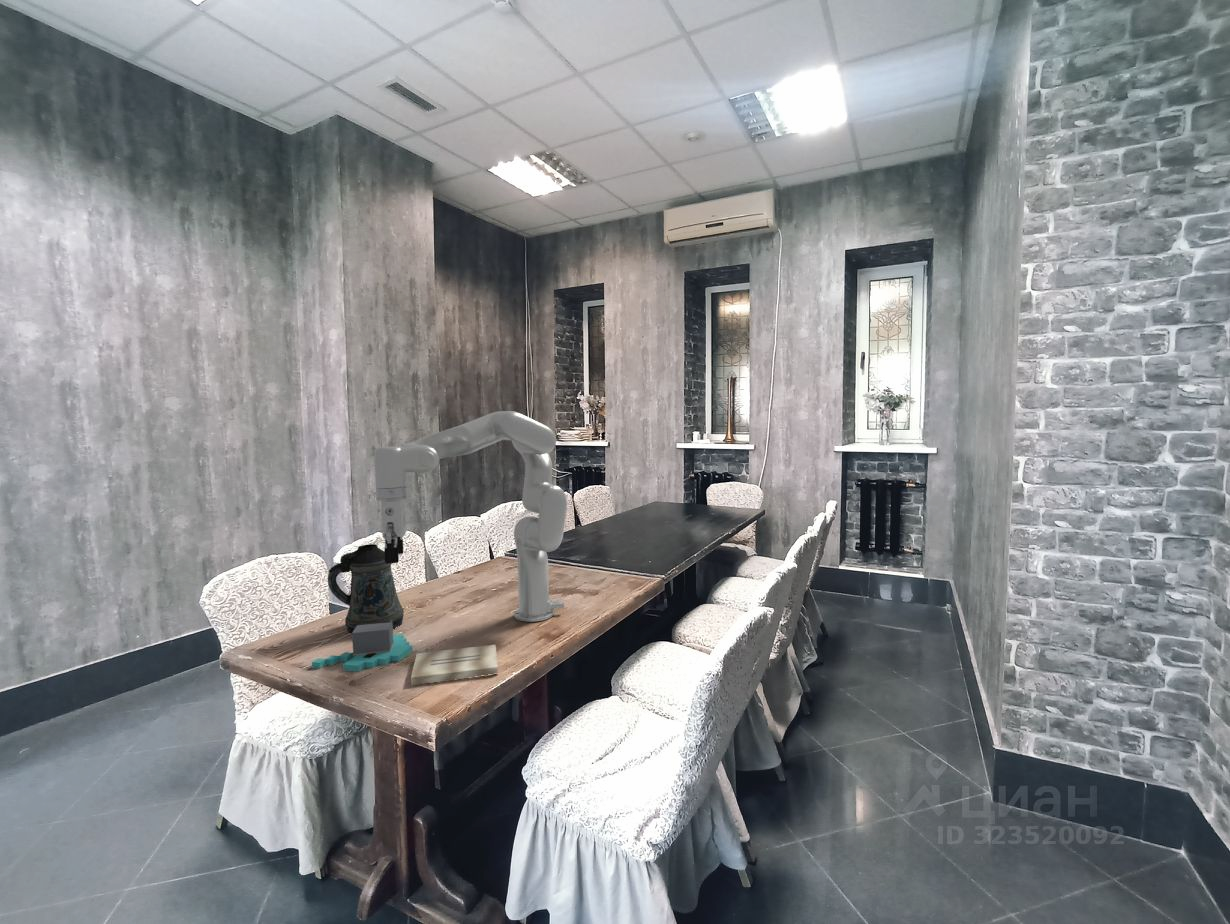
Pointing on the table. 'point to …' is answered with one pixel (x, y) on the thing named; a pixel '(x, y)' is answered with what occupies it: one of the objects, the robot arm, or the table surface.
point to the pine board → (454, 664)
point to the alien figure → (369, 656)
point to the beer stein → (367, 588)
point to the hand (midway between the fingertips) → (394, 558)
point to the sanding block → (372, 638)
